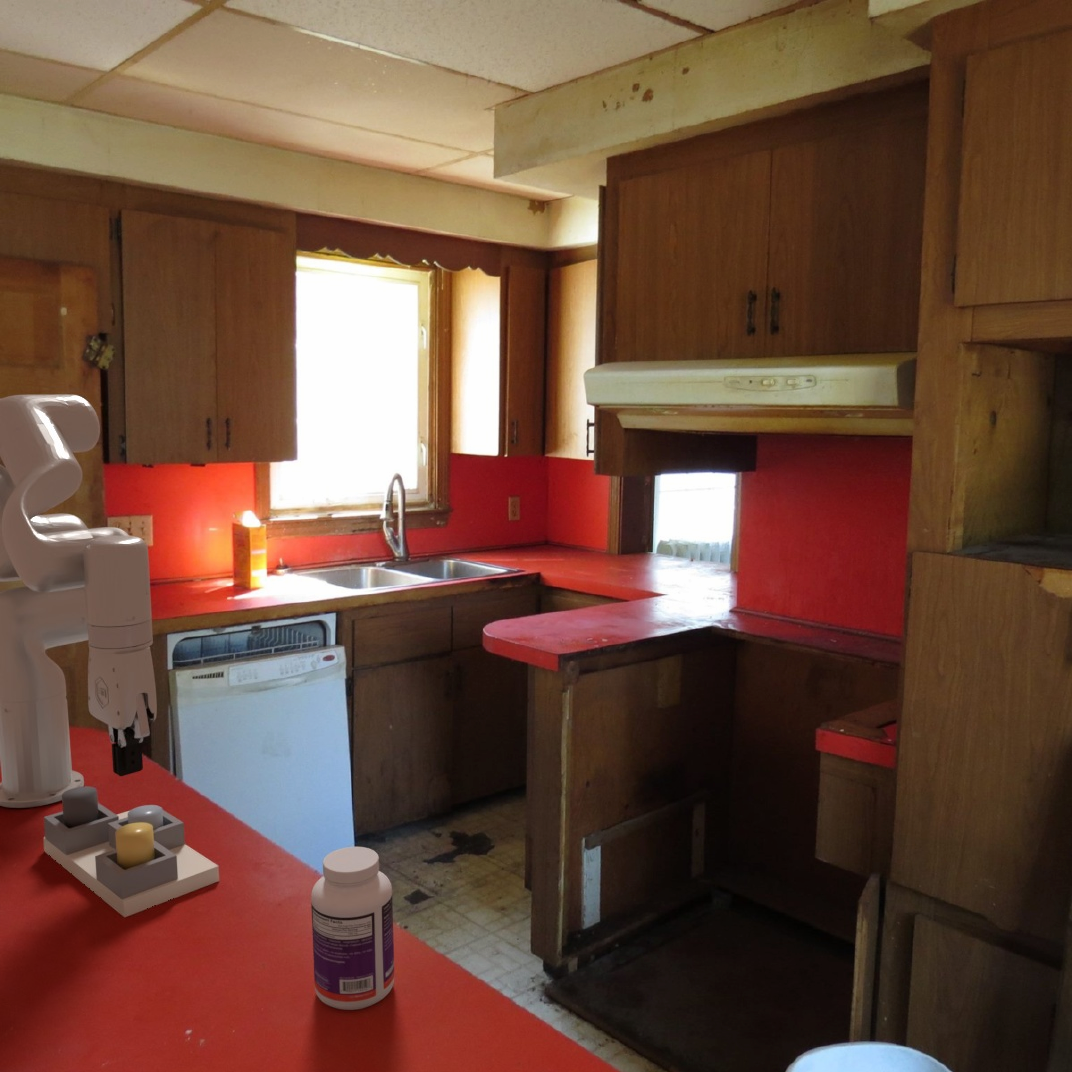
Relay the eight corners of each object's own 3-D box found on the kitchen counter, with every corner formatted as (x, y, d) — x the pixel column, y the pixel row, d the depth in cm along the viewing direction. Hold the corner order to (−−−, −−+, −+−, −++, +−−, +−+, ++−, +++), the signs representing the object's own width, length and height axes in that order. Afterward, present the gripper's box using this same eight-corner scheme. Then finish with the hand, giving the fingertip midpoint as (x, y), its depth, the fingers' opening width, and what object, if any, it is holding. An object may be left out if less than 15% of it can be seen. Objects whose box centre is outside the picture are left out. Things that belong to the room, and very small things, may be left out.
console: (44, 851, 133) (41, 815, 132) (132, 823, 142) (130, 789, 141) (124, 917, 117) (121, 877, 116) (219, 880, 125) (217, 843, 124)
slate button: (123, 841, 130) (121, 811, 130) (154, 830, 133) (153, 802, 133) (138, 851, 128) (136, 821, 127) (169, 840, 131) (168, 811, 130)
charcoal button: (58, 821, 132) (56, 793, 132) (90, 812, 135) (88, 783, 135) (71, 831, 129) (69, 802, 129) (104, 821, 132) (102, 792, 132)
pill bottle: (359, 959, 108) (355, 833, 106) (411, 987, 103) (408, 855, 101) (298, 994, 102) (293, 861, 100) (350, 1026, 97) (345, 886, 95)
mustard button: (111, 861, 121) (109, 830, 121) (145, 849, 124) (143, 819, 124) (126, 873, 118) (124, 841, 118) (161, 861, 121) (159, 829, 121)
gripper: (65, 628, 129) (74, 764, 132) (118, 651, 119) (126, 797, 122) (122, 618, 135) (129, 749, 138) (177, 639, 125) (184, 779, 128)
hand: (128, 771), depth 130 cm, fingers closed
